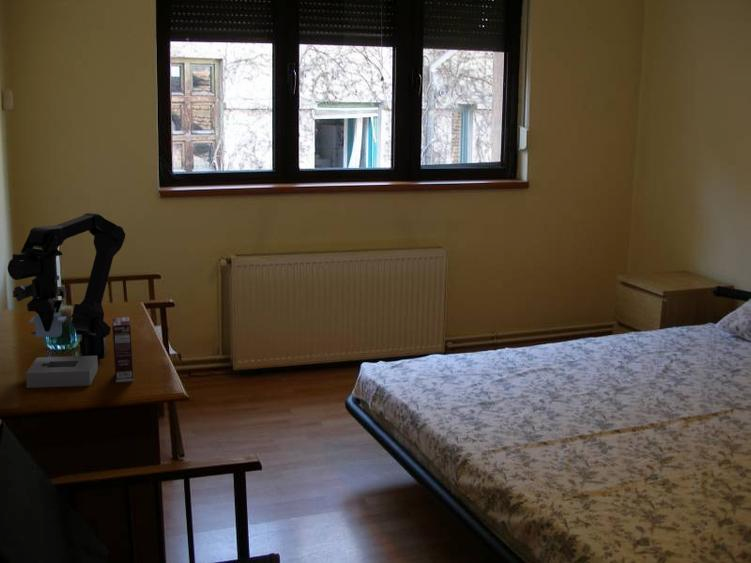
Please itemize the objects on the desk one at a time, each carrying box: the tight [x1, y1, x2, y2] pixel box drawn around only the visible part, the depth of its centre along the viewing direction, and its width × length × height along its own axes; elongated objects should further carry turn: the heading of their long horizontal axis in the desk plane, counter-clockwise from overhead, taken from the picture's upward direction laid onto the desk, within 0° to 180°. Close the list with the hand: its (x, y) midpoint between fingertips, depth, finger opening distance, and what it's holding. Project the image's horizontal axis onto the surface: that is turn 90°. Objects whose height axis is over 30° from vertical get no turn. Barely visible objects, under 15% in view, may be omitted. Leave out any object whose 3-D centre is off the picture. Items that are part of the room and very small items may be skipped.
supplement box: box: [111, 316, 134, 383], centre depth 242 cm, size 9×5×16 cm, turn 16°
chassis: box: [25, 355, 99, 389], centre depth 242 cm, size 16×14×4 cm
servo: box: [29, 311, 68, 338], centre depth 246 cm, size 9×4×6 cm, turn 96°
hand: (49, 329), depth 246 cm, fingers closed on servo, 4 cm apart
